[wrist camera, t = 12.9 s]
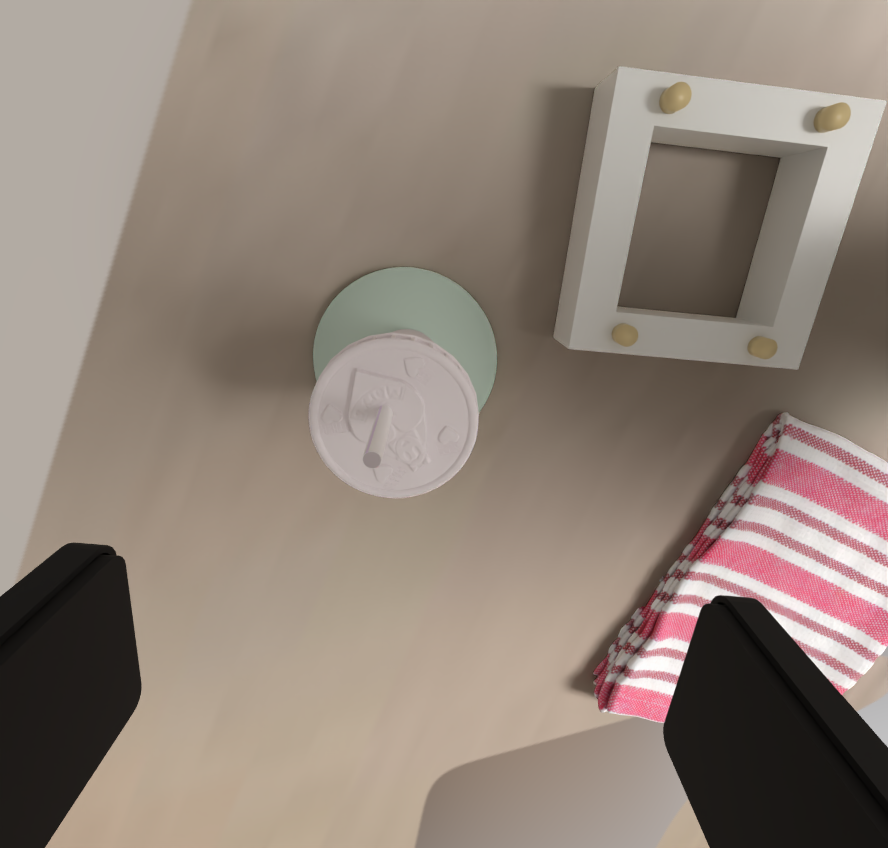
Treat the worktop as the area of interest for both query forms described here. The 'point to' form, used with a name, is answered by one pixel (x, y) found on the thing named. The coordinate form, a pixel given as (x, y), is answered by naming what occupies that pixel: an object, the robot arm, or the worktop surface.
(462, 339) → the coaster
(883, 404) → the worktop surface
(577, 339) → the socket block
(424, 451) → the smoothie
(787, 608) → the dish towel
